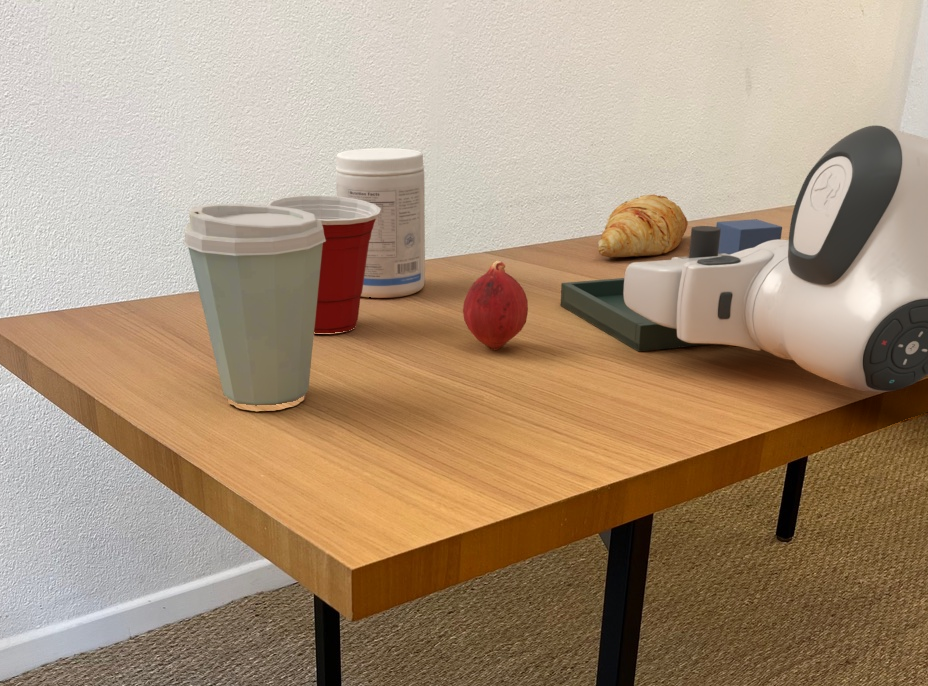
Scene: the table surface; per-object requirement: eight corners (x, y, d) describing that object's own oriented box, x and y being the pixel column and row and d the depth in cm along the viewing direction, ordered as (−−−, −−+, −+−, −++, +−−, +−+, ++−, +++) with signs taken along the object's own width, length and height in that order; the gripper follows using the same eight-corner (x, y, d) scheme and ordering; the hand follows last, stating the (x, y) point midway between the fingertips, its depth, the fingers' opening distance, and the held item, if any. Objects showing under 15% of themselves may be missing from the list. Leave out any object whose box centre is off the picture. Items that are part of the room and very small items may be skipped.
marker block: (749, 282, 119) (756, 219, 116) (774, 291, 115) (782, 226, 112) (709, 285, 118) (716, 221, 115) (733, 295, 114) (741, 229, 111)
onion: (510, 362, 92) (512, 271, 89) (452, 353, 95) (452, 264, 92) (536, 345, 97) (539, 258, 94) (480, 337, 100) (481, 252, 96)
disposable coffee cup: (311, 373, 90) (301, 192, 84) (353, 412, 81) (345, 213, 75) (188, 389, 86) (167, 202, 80) (217, 432, 77) (197, 225, 71)
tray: (696, 293, 114) (705, 201, 110) (793, 336, 99) (808, 230, 94) (560, 305, 110) (564, 209, 106) (638, 351, 95) (647, 241, 91)
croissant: (621, 293, 129) (653, 238, 124) (559, 246, 132) (588, 191, 127) (693, 259, 144) (725, 209, 139) (637, 218, 147) (665, 168, 142)
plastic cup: (334, 350, 96) (328, 216, 91) (250, 331, 102) (240, 205, 97) (406, 324, 104) (404, 200, 99) (324, 309, 110) (319, 190, 105)
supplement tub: (350, 279, 123) (345, 147, 117) (431, 281, 121) (430, 147, 115) (332, 299, 114) (325, 157, 108) (418, 301, 113) (416, 157, 106)
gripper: (894, 249, 88) (797, 222, 100) (673, 267, 83) (599, 236, 95) (881, 323, 90) (788, 289, 102) (667, 345, 85) (595, 306, 97)
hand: (695, 264), depth 98 cm, fingers closed on tray, 2 cm apart
